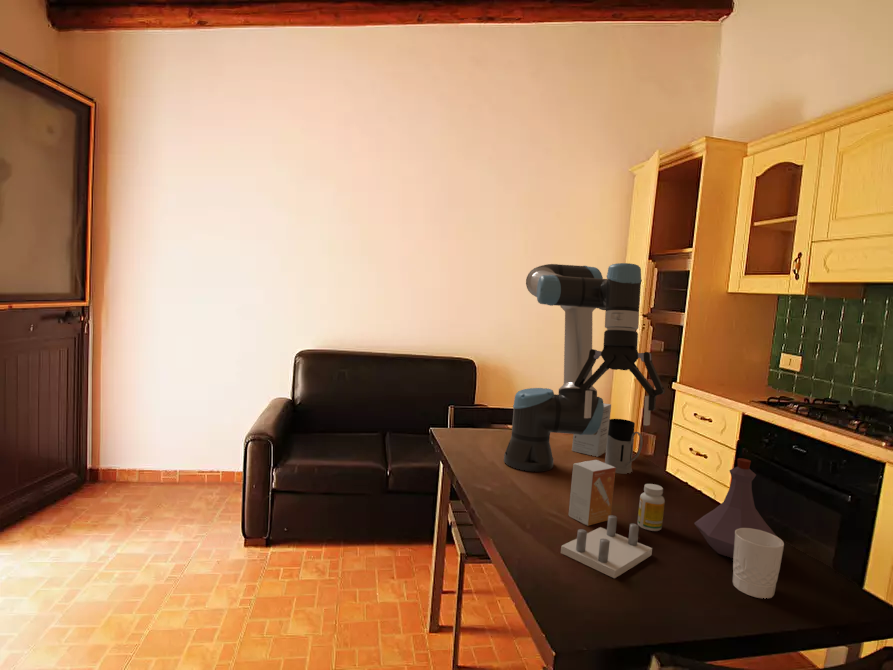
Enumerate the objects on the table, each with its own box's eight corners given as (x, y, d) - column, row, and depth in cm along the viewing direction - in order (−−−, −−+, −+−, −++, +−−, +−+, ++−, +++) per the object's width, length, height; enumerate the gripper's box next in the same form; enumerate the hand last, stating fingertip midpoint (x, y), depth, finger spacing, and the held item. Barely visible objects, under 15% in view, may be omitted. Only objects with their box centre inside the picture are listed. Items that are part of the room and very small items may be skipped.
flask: (741, 575, 104) (753, 476, 103) (675, 538, 119) (684, 450, 118) (796, 563, 111) (808, 470, 109) (727, 529, 126) (736, 446, 124)
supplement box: (570, 451, 183) (575, 402, 181) (580, 445, 190) (584, 399, 189) (598, 457, 177) (603, 407, 176) (607, 451, 185) (611, 403, 184)
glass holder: (620, 463, 172) (625, 418, 171) (650, 479, 159) (655, 429, 157) (597, 464, 169) (601, 418, 168) (625, 480, 156) (630, 430, 155)
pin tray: (560, 552, 109) (563, 526, 108) (599, 533, 119) (602, 509, 118) (614, 578, 100) (617, 550, 100) (651, 555, 110) (654, 529, 110)
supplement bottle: (632, 523, 126) (636, 483, 125) (648, 520, 128) (652, 481, 127) (650, 533, 121) (654, 492, 120) (667, 529, 123) (671, 489, 123)
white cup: (720, 577, 103) (726, 527, 102) (758, 577, 104) (764, 528, 103) (746, 600, 95) (752, 546, 95) (787, 601, 96) (794, 547, 95)
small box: (588, 526, 122) (593, 471, 121) (567, 516, 127) (572, 462, 126) (611, 520, 127) (616, 466, 126) (590, 510, 132) (595, 458, 131)
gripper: (564, 327, 129) (559, 415, 128) (675, 330, 115) (670, 429, 114) (575, 330, 135) (570, 414, 134) (681, 333, 121) (676, 427, 120)
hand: (616, 421), depth 124 cm, fingers open, 13 cm apart
